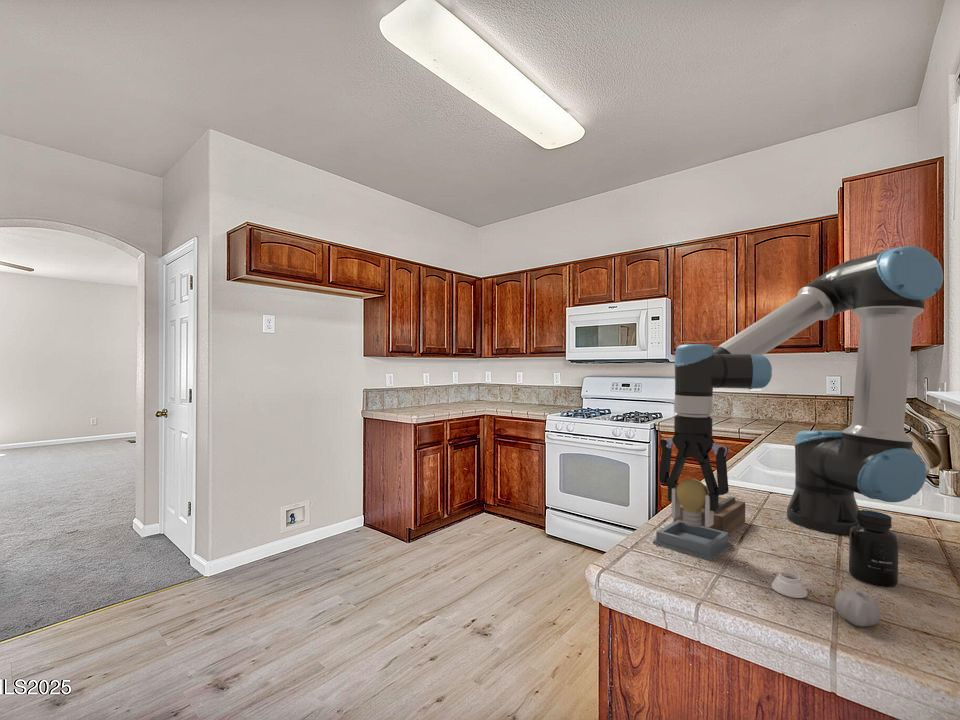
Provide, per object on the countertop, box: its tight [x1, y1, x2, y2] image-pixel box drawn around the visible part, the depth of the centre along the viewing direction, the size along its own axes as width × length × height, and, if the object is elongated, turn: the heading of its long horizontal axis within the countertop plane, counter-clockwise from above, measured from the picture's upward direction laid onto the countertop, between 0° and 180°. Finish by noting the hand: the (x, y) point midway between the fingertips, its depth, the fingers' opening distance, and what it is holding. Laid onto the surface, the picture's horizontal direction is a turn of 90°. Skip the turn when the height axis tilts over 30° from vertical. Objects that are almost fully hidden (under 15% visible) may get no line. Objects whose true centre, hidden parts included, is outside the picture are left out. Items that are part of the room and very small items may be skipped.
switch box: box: [673, 495, 746, 535], centre depth 110 cm, size 11×16×6 cm
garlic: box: [834, 588, 881, 628], centre depth 69 cm, size 6×5×5 cm
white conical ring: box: [771, 571, 808, 599], centre depth 78 cm, size 5×3×5 cm
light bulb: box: [676, 478, 709, 527], centre depth 98 cm, size 6×6×10 cm
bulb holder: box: [652, 520, 733, 562], centre depth 98 cm, size 12×12×3 cm
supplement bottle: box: [848, 509, 900, 588], centre depth 82 cm, size 7×7×12 cm
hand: (692, 520), depth 98 cm, fingers closed on light bulb, 6 cm apart
